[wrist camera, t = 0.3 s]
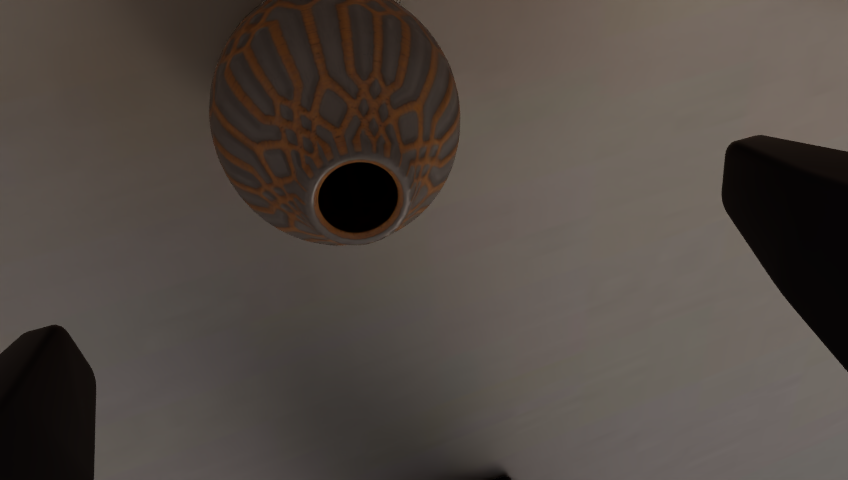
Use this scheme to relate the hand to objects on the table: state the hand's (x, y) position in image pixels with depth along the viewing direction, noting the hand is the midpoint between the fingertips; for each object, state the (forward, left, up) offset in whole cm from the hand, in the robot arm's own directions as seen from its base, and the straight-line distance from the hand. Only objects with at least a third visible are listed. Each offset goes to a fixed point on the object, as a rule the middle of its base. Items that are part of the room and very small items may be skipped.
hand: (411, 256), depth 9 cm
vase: (-2, +1, -15) cm, 15 cm away
